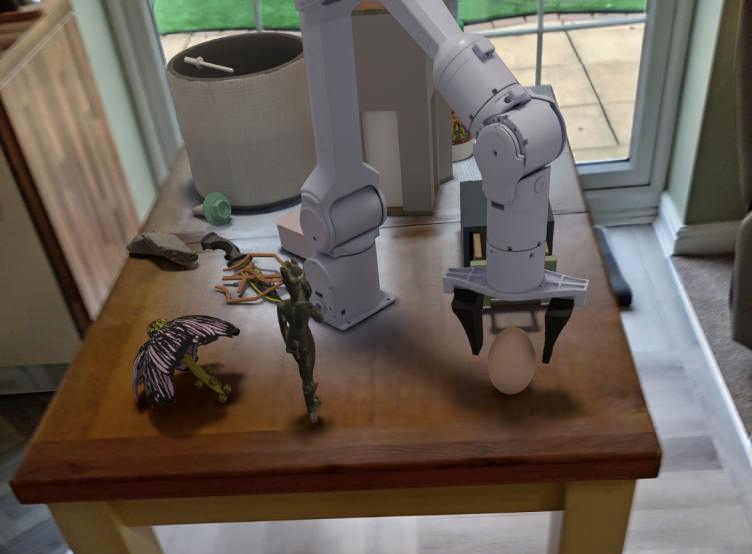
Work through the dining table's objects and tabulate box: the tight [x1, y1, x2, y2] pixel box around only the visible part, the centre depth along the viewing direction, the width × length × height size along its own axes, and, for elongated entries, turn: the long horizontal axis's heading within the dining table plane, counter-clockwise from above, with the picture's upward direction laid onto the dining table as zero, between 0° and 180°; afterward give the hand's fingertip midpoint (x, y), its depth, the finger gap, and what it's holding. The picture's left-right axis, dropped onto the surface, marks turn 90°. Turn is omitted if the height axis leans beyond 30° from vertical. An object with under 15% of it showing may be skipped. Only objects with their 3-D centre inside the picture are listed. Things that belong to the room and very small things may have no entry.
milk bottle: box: [451, 18, 475, 162], centre depth 131 cm, size 8×8×20 cm
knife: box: [200, 231, 283, 302], centre depth 116 cm, size 23×2×5 cm
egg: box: [486, 326, 537, 395], centre depth 88 cm, size 5×5×8 cm
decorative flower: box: [131, 314, 241, 413], centre depth 93 cm, size 15×12×15 cm
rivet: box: [184, 57, 234, 73], centre depth 118 cm, size 10×2×2 cm, turn 51°
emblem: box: [214, 252, 284, 304], centre depth 112 cm, size 12×10×1 cm
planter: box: [166, 31, 317, 210], centre depth 130 cm, size 23×23×20 cm
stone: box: [126, 229, 199, 266], centre depth 121 cm, size 13×6×5 cm
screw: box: [190, 192, 232, 227], centre depth 128 cm, size 9×5×5 cm
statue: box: [276, 256, 324, 424], centre depth 85 cm, size 5×6×20 cm
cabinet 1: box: [351, 0, 454, 216], centre depth 116 cm, size 21×10×28 cm, turn 122°
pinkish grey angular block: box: [276, 207, 316, 260], centre depth 118 cm, size 10×5×10 cm
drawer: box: [470, 231, 558, 310], centre depth 103 cm, size 17×10×6 cm, turn 177°
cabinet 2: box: [459, 179, 555, 268], centre depth 110 cm, size 14×12×8 cm
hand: (511, 354), depth 88 cm, fingers open, 7 cm apart
